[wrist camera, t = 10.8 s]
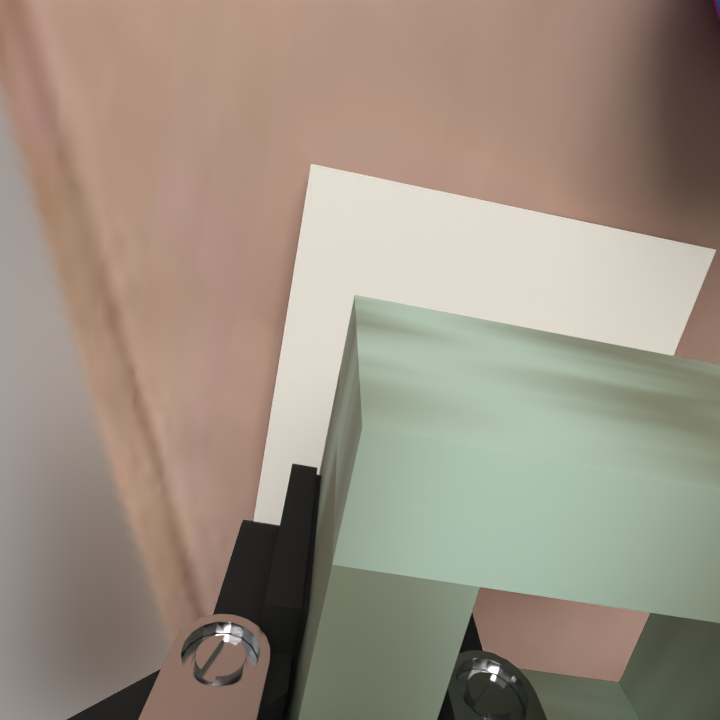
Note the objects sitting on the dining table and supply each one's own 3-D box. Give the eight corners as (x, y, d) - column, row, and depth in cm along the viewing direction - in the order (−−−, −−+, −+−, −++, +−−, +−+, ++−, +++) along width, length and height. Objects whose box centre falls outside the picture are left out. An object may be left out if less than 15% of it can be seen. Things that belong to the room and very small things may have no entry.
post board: (690, 244, 20) (952, 299, 11) (569, 555, 24) (689, 768, 16) (314, 164, 19) (280, 157, 10) (259, 504, 23) (201, 701, 15)
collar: (824, 384, 11) (1304, 589, 6) (653, 732, 14) (853, 1094, 9) (354, 294, 11) (362, 427, 5) (277, 683, 14) (226, 1045, 8)
